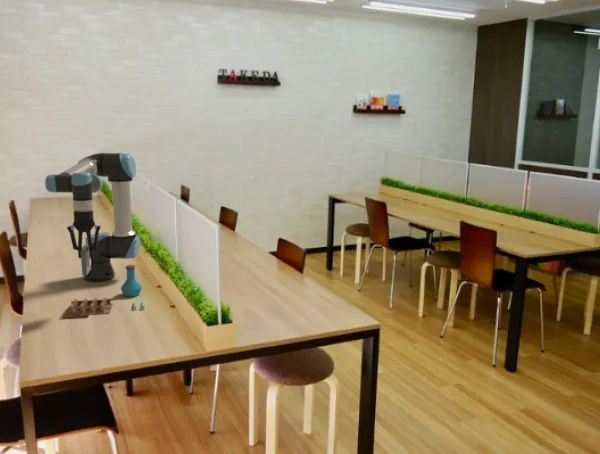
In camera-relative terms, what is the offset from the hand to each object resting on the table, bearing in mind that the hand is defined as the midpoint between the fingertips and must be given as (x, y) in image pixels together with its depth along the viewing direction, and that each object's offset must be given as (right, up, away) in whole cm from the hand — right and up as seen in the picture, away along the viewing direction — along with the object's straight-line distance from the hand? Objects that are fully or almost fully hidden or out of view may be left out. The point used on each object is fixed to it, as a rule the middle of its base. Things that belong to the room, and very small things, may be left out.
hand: (86, 265), depth 232 cm
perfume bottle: (+11, -17, +25) cm, 32 cm away
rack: (0, -20, +4) cm, 21 cm away
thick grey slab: (0, -3, 0) cm, 3 cm away
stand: (+20, -20, +10) cm, 30 cm away
